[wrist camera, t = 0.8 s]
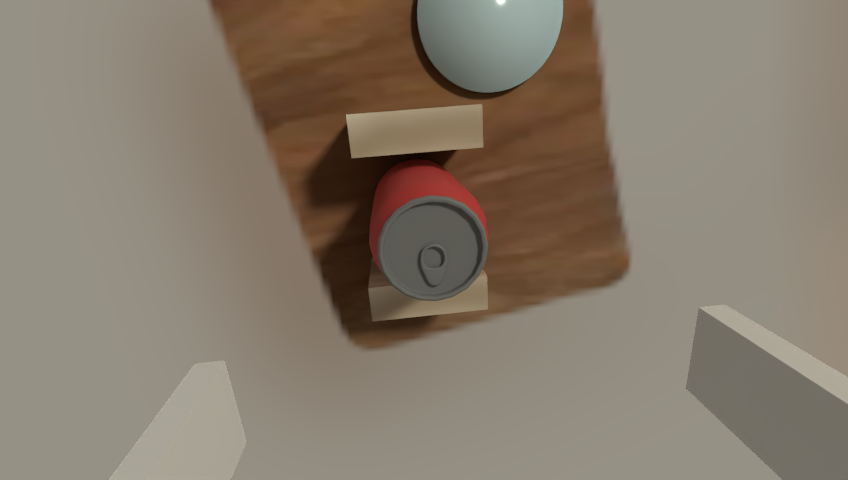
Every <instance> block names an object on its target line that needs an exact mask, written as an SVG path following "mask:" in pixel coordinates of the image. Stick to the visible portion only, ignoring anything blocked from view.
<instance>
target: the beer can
mask: <svg viewBox="0 0 848 480" xmlns="http://www.w3.org/2000/svg"><path fill="white" fill-rule="evenodd" d="M369 245H370V249H371V252H372V256H373V259H374V261H375V263H376V265H377V266H378V267H379V269H380V270H381V272H382V273H383V275H384V276H385V278H386V279H387V280H388V281H389V283H390V284H391V285H392V286H393V287H394V288H396V289H397V290H398V291H400V292H401V293H402V294H404V295H406V296H409V297H412V298H415V299H417V300H423V301H439V300H443V299H447V298H451V297H454V296H456V295H457V294H459V293H461V292H462V291H464V290H466V289H467V288H468V287H469V286H470V285H471V284H472V283H473V282H474V281H475V280H476V279H477V278H478V277H479V275H480V273H481V271H482V269H483V267H484V265H485V263H486V258H487V251H488V229H487V224H486V218H485V214H484V213H483V211H482V209H481V207H480V205H479V204H478V202H477V200H476V199H475V198H474V197H473V196H472V195H471V194H470V193H469V192H468V191H467V190H466V189H465V188H464V187H463V186H462V185H461V184H460V183H459V182H458V181H457V180H456V179H455V178H454V177H453V176H452V175H451V174H450V173H449V172H448V171H446V170H445V169H444V168H443V167H442V166H441V165H439V164H436V163H434V162H432V161H429V160H422V159H412V160H408V161H403V162H400V163H399V164H397V165H395V166H394V167H392V168H390V169H389V170H388V171H387V172H386V173H385V175H384V176H383V177H382V178H381V179H380V181H379V184H378V186H377V189H376V191H375V195H374V202H373V208H372V215H371V221H370V233H369Z"/></svg>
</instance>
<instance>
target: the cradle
mask: <svg viewBox="0 0 848 480" xmlns="http://www.w3.org/2000/svg"><path fill="white" fill-rule="evenodd" d="M346 119H347V127H348V135H349V142H350V150H351V158H362V157H374V156H385V155H397V154H409V153H421V152H433V151H445V150H457V149H469V148H480V147H483V119H482V104H477V105H464V106H452V107H439V108H426V109H413V110H400V111H388V112H375V113H362V114H349V115H346ZM368 292H369V300H370V307H371V315H372V322H374V321H383V320H392V319H401V318H411V317H420V316H429V315H439V314H448V313H457V312H466V311H476V310H485V309H488V292H487V275H486V273H485V272H484V270H483V269H482V271H481V273H480V275H479V277H478V278H477V279H476V280H475V281H474V282H473V283H472V284H471V285H470V286H469V287H468V288H467V289H466V290H464V291H462V292H461V293H459V294H457V295H456V296H454V297H451V298H447V299H443V300H439V301H423V300H417V299H415V298H412V297H409V296H406V295H404V294H402V293H401V292H400V291H398V290H397V289H396V288H394V287H393V286H392V285H391V284H390V283H389V281H388V280H387V279H386V278H385V276H384V275H383V273H382V272H381V270H380V269H379V267H378V266H377V265H376V263H375V261H374V259H373V257H371V266H370V275H369V284H368Z"/></svg>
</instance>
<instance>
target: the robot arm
mask: <svg viewBox="0 0 848 480" xmlns="http://www.w3.org/2000/svg"><path fill="white" fill-rule="evenodd" d="M696 323H697V324H696V329H695V336H694V341H693V348H692V354H691V360H690V367H689V373H688V379H687V385H686V389H687V390H688V391H689V392H691V393H692V394H693V395H694V396H695V397H696V398H697V399H698V400H699V401H700V402H701V403H702V404H703V405H704V406H705V407H706V408H707V409H708V410H710V411H711V412H712V413H713V414H714V415H715V416H716V417H717V418H718V419H719V420H720V421H721V422H722V423H723V424H724V425H726V427H727V428H728V429H730V430H731V431H732V432H733V433H734V434H735V435H736V436H737V437H738V438H739V439H740V440H741V441H742V442H743V443H744V444H746V446H747V447H749V448H750V449H751V450H752V451H753V452H754V453H755V454H756V455H757V456H758V457H759V458H760V459H761V460H762V461H763V462H764V463H765V464H767V465H768V466H769V467H770V468H771V469H772V470H773V471H774V472H775V473H776V474H777V475H778V476H779V477H780V478H781V479H782V480H848V377H846V376H845V375H843V374H841V373H840V372H838V371H836V370H834V369H833V368H831V367H829V366H828V365H826V364H824V363H823V362H821V361H819V360H818V359H816V358H814V357H813V356H811V355H809V354H807V353H806V352H804V351H802V350H801V349H799V348H797V347H796V346H794V345H792V344H791V343H789V342H787V341H785V340H784V339H782V338H780V337H779V336H777V335H775V334H774V333H772V332H770V331H769V330H767V329H765V328H763V327H762V326H760V325H758V324H757V323H755V322H753V321H752V320H750V319H748V318H746V317H745V316H743V315H741V314H740V313H738V312H736V311H734V310H733V309H731V308H730V307H728V306H726V305H717V306H708V307H699V310H698V316H697V322H696ZM246 443H247V442H246V439H245V435H244V431H243V427H242V423H241V420H240V416H239V412H238V409H237V405H236V402H235V398H234V394H233V390H232V387H231V383H230V379H229V376H228V372H227V369H226V365H225V361H216V362H207V363H199V364H194V365H193V367H192V368H191V369H190V371H189V372H188V373H187V375H186V376H185V378H184V379H183V380H182V381H181V383H180V384H179V386H178V387H177V388H176V390H175V391H174V392H173V394H172V395H171V396H170V398H169V399H168V400H167V402H166V403H165V404H164V406H163V407H162V408H161V410H160V411H159V413H158V414H157V415H156V416H155V418H154V419H153V421H152V422H151V423H150V424H149V426H148V427H147V428H146V430H145V431H144V433H143V434H142V435H141V437H140V438H139V439H138V440H137V442H136V443H135V445H134V446H133V447H132V449H131V450H130V451H129V453H128V454H127V455H126V457H125V458H124V459H123V461H122V462H121V463H120V465H119V466H118V467H117V469H116V470H115V471H114V473H113V474H112V475H111V477H110V478H109V479H108V480H231V479H232V477H233V474H234V472H235V469H236V467H237V465H238V462H239V460H240V457H241V455H242V453H243V450H244V447H245V445H246Z"/></svg>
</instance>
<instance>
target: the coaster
mask: <svg viewBox="0 0 848 480" xmlns="http://www.w3.org/2000/svg"><path fill="white" fill-rule="evenodd" d="M562 16H563V0H418V3H417V25H418V32H419V36H420V40H421V43H422V45H423V48H424V51H425V53H426V54H427V56H428V58H429V60H430V61H431V63H432V64H433V66H434V67H435V68H436V69H437V70H438V71H439V73H440V74H441V75H442V76H444V77H445V78H446V79H447V80H448V81H450V82H452V83H453V84H455V85H457V86H459V87H461V88H463V89H466V90H470V91H473V92H480V93H492V92H498V91H503V90H507V89H510V88H512V87H515V86H517V85H519V84H521V83H522V82H524V81H526V80H527V79H528V78H530V77H531V76H532V75H533V74H535V73H536V72H537V71H538V70H539V69H540V67H541V66H542V65H543V64H544V62H545V61H546V60H547V59H548V57H549V55H550V53H551V52H552V50H553V48H554V46H555V43H556V41H557V38H558V35H559V32H560V28H561V23H562Z"/></svg>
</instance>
